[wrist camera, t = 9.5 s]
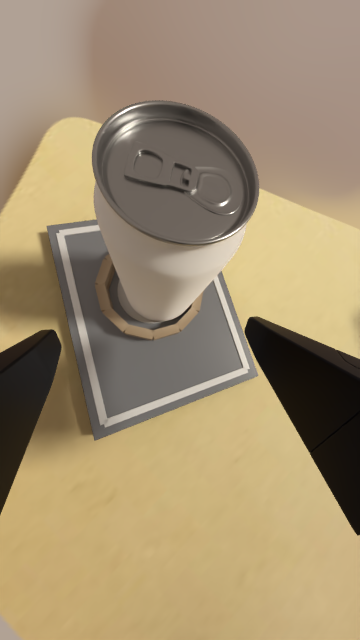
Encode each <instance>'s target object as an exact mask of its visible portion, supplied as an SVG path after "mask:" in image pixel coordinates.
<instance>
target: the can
mask: <svg viewBox="0 0 360 640" xmlns="http://www.w3.org/2000/svg"><path fill="white" fill-rule="evenodd" d="M92 166H93V172H94V176H95V179H96V182H95V188H94V208H95V213H96V218H97V222H98V225H99V228H100V231H101V233H102V236H103V239H104V241H105V244H106V247H107V249H108V252H109V254H110V257H111V259H112V262H113V264H114V267H115V269H116V272H117V274H118V277H119V279H120V282H121V284H122V287H123V289H124V291H125V294H126V296H127V298H128V301H129V303H130V304H131V306H132V307H133V309H134V310H135V311H136V312H137V313H138V314H140V315H141V316H143V317H144V318H146V319H149V320H152V321H169V320H172V319H174V318H176V317H178V316H180V315H181V314H182V313H183V312H184V311H185V310H186V309H187V308H188V307H189V306H190V305H191V304H192V303H193V302H194V301H195V299H196V298H197V297H198V296H199V295H200V294H201V293H202V292H203V291H204V289H205V288H206V287H207V286H208V285H209V284H210V283H211V282H212V280H213V279H214V278H215V277H216V276H217V275H218V274H219V273H220V271H221V270H222V269H223V268H224V267H225V266H226V264H227V263H228V262H229V261H230V260H231V258H232V257H233V256H234V254H235V253H236V251H237V250H238V248H239V246H240V244H241V242H242V240H243V237H244V234H245V229H246V224H247V222H248V221H249V220H250V218H251V216H252V215H253V213H254V211H255V208H256V205H257V202H258V197H259V180H258V174H257V170H256V167H255V164H254V161H253V159H252V157H251V155H250V153H249V152H248V150H247V148H246V147H245V146H244V144H243V143H242V141H241V140H240V139H239V138H238V137H237V136H236V134H235V133H234V132H232V131H231V130H230V129H229V128H228V127H227V126H226V125H225V124H223V123H222V122H221V121H219V120H218V119H216V118H215V117H213V116H211V115H210V114H208V113H206V112H204V111H202V110H200V109H197V108H195V107H192V106H189V105H186V104H182V103H177V102H172V101H160V100H159V101H156V100H155V101H145V102H139V103H135V104H132V105H129V106H127V107H125V108H123V109H121V110H119V111H117V112H116V113H114V114H113V115H112V116H111V117H110V118H108V119H107V121H105V123H104V124H103V125H102V127H101V128H100V130H99V131H98V133H97V136H96V138H95V141H94V144H93V150H92Z"/></svg>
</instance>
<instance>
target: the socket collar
mask: <svg viewBox="0 0 360 640" xmlns="http://www.w3.org/2000/svg"><path fill="white" fill-rule="evenodd" d="M115 270H116V269H115V267H114V264H113V262H112V259H111V257H110V254H108V255H107V256H106V257H105V259H103V261H102V264H101V267H100V270H99V273H98V275H97V278H96V281H95V284H96V285H95V288H96V292H97V296H98V300H99V304H100V308H101V311H102V313H103V314H104V315H105V316H106V317H107V318H109V319H110V320H111V321H112V322H113V323H114V324H115V325H116V326H117V327H118V328H119V329H120V330H121V331H122V332H123V333H125V334H126V335H130V336H134V337H139V338H143V339H147V340H151V341H152V338H153V340H157V339H161V338H164V337H168V336H171V335H174V334H178V333H179V332H181V331H182V330H183V329H184V328H185V327H186V326H187V325H188V323H189V322H190V321H191V320H192V319H193V318H194V317H195V316H196V315H197V314H198V313H199V311H200V306H201V301H202V296H203V292H202V293H201V294H200V295H199V296H198V297H197V298H196V299H195V301H194V302H193V303H192V304H191V305H190V306H189V309H188V312H187V313H186V314H185V315H184V316H183V317H182V318H181V319H180V320H179V321H178V322H177V323H176V324H174V325H170V326H167V327H163V328H159V329H156V330H150V329H146V328H142V327H137V326H133V325H129V324H128V323H127V322H126V321H125V320H124V319H123V318H121V317H120V316H119V315H118V314H117V313H116V312H115V311H114V309H113V305H112V302H111V298H110V294H109V287H110V284H111V281H112V278H113V275H114V272H115Z"/></svg>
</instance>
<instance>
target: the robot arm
mask: <svg viewBox="0 0 360 640" xmlns="http://www.w3.org/2000/svg"><path fill="white" fill-rule="evenodd" d="M245 335H246V338H247V340H248V342H249V344H250V347H251V349H252V351H253V354H254V356H255V358H256V360H257V362H258V363H259V365H260V367H261V369H262V370H263V372H264V374H265V376H266V377H267V379H268V381H269V383H270V384H271V386H272V388H273V390H274V391H275V393H276V395H277V397H278V398H279V400H280V402H281V404H282V406H283V407H284V409H285V411H286V413H287V414H288V416H289V418H290V420H291V421H292V423H293V425H294V427H295V428H296V430H297V432H298V434H299V435H300V437H301V439H302V441H303V442H304V444H305V446H306V448H307V449H308V451H309V452H310V455H311V457H312V458H313V460H314V462H315V464H316V465H317V467H318V469H319V471H320V472H321V474H322V476H323V478H324V479H325V481H326V483H327V485H328V486H329V488H330V490H331V492H332V493H333V495H334V497H335V499H336V500H337V502H338V504H339V506H340V507H341V509H342V511H343V513H344V514H345V516H346V518H347V520H348V521H349V523H350V525H351V527H352V528H353V530H354V531H355V533H356V534H357V535H360V359H358V358H356V357H353V356H351V355H348V354H346V353H343V352H341V351H339V350H335V349H334V348H331V347H329V346H327V345H324V344H322V343H319V342H317V341H315V340H312V339H310V338H308V337H305V336H303V335H300V334H298V333H296V332H293V331H291V330H288V329H286V328H284V327H281V326H279V325H277V324H274V323H272V322H269V321H267V320H265V319H262V318H260V317H250V318H249V319H248V321H247V324H246V327H245ZM60 352H61V343H60V341H59V338H58V336H57V334H56V332H55V331H54V330H52V329H50V330H41V331H39V332H37V333H36V334H34V335H32V336H30V337H28V338H26V339H25V340H23V341H21V342H19V343H17V344H16V345H14V346H12V347H10V348H8V349H6V350H5V351H3V352H1V353H0V514H1V512H2V509H3V507H4V504H5V502H6V499H7V497H8V494H9V491H10V489H11V486H12V484H13V481H14V479H15V476H16V474H17V471H18V469H19V466H20V464H21V461H22V459H23V456H24V454H25V451H26V448H27V446H28V443H29V441H30V438H31V436H32V433H33V431H34V428H35V426H36V423H37V421H38V418H39V416H40V413H41V411H42V408H43V405H44V403H45V400H46V398H47V395H48V393H49V390H50V388H51V385H52V382H53V379H54V376H55V372H56V368H57V364H58V360H59V356H60Z"/></svg>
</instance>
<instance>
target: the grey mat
mask: <svg viewBox="0 0 360 640" xmlns="http://www.w3.org/2000/svg"><path fill="white" fill-rule="evenodd" d="M47 230H48V235H49V239H50V244H51V248H52V253H53V257H54V261H55V266H56V270H57V275H58V279H59V284H60V288H61V293H62V297H63V302H64V306H65V311H66V315H67V320H68V324H69V328H70V333H71V337H72V342H73V346H74V351H75V355H76V360H77V364H78V369H79V373H80V378H81V382H82V387H83V391H84V395H85V400H86V404H87V409H88V413H89V418H90V422H91V427H92V431H93V436H94V440H98V439H100V438H103V437H105V436H108V435H111V434H113V433H116V432H118V431H121V430H123V429H126V428H128V427H131V426H133V425H136V424H138V423H141V422H143V421H146V420H148V419H151V418H153V417H156V416H158V415H161V414H163V413H166V412H169V411H171V410H174V409H176V408H179V407H181V406H184V405H186V404H189V403H191V402H194V401H196V400H199V399H201V398H204V397H206V396H209V395H211V394H214V393H216V392H219V391H221V390H224V389H227V388H229V387H232V386H234V385H237V384H239V383H242V382H244V381H247V380H249V379H252V378H254V377H257V376H258V373H257V370H256V368H255V365H254V362H253V359H252V356H251V353H250V351H249V348H248V345H247V342H246V339H245V336H244V334H243V331H242V328H241V325H240V322H239V319H238V317H237V314H236V311H235V308H234V305H233V302H232V300H231V297H230V294H229V291H228V288H227V285H226V283H225V280H224V277H223V274H222V271H220V273H219V274H218V275H217V276H216V277H215V278H214V279H213V280H212V282H211V283H210V284H209V285H208V286H207V287H206V288H205V289H204V291H203V296H202V301H201V306H200V311H199V313H198V314H197V315H196V316H195V317H194V318H193V319H192V320H191V321H190V322H189V323H188V325H187V326H186V327H185V328H184V329H183V330H182V331H181V332H179V333H178V334H174V335H171V336H168V337H164V338H161V339H157V340H153V338H152V341H151V340H147V339H143V338H139V337H134V336H130V335H126V334H125V333H123V332H122V331H121V330H120V329H119V328H118V327H117V326H116V325H115V324H114V323H113V322H112V321H111V320H110V319H109V318H107V317H106V316H105V315H104V314H103V313H102V311H101V308H100V304H99V300H98V296H97V292H96V288H95V285H96V284H95V281H96V278H97V275H98V273H99V270H100V267H101V264H102V261H103V259H105V257H106V256H107V255H108V254H109V252H108V249H107V247H106V244H105V241H104V239H103V236H102V233H101V231H100V228H99V225H98V222H97V220H90V221H82V222H74V223H66V224H58V225H50V226H47ZM109 294H110V298H111V302H112V305H113V309H114V311H115V312H116V313H117V314H118V315H119V316H120V317H121V318H123V319H124V320H125V321H126V322H127V323H128V324H129V325H133V326H137V327H142V328H146V329H150V330H156V329H159V328H163V327H167V326H170V325H174V324H176V323H177V322H178V321H179V320H180V319H181V318H182V317H183V316H184V315H185V314H186V313H187V312H188V309H189V307H188V308H187V309H186V310H185V311H184V312H183V313H182V314H181V315H180V316H178V317H176V318H174V319H172V320H169V321H152V320H149V319H146V318H144V317H143V316H141V315H140V314H138V313H137V312H136V311H135V310H134V309H133V307H132V306H131V304H130V303H129V301H128V298H127V296H126V294H125V291H124V289H123V287H122V284H121V282H120V279H119V277H118V274H117V272H116V270H115V272H114V275H113V278H112V281H111V284H110V287H109Z"/></svg>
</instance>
